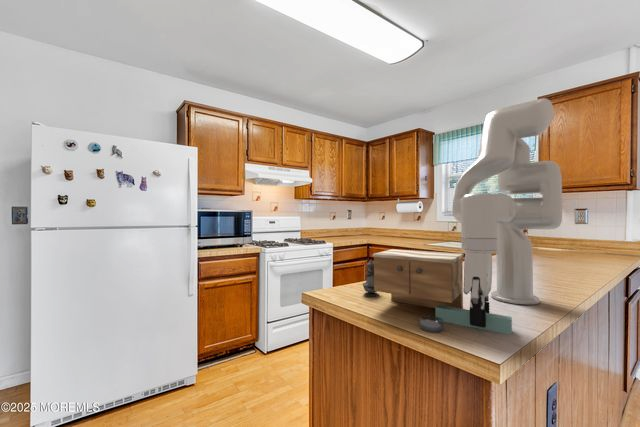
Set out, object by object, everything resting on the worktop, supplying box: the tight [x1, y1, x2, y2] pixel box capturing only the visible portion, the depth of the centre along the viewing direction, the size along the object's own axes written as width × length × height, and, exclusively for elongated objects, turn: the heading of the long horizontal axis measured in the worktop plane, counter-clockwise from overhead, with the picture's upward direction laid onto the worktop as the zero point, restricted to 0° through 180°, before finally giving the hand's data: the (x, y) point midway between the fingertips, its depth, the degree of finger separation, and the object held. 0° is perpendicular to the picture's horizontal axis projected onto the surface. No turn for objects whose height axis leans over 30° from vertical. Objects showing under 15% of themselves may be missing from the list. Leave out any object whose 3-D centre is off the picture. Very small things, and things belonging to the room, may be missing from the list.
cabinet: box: [372, 248, 465, 309], centre depth 81 cm, size 15×21×16 cm
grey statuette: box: [362, 259, 380, 298], centre depth 98 cm, size 6×6×12 cm
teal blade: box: [435, 305, 513, 336], centre depth 70 cm, size 2×16×4 cm, turn 55°
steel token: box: [419, 314, 444, 334], centre depth 68 cm, size 5×5×2 cm
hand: (479, 320), depth 69 cm, fingers open, 6 cm apart
